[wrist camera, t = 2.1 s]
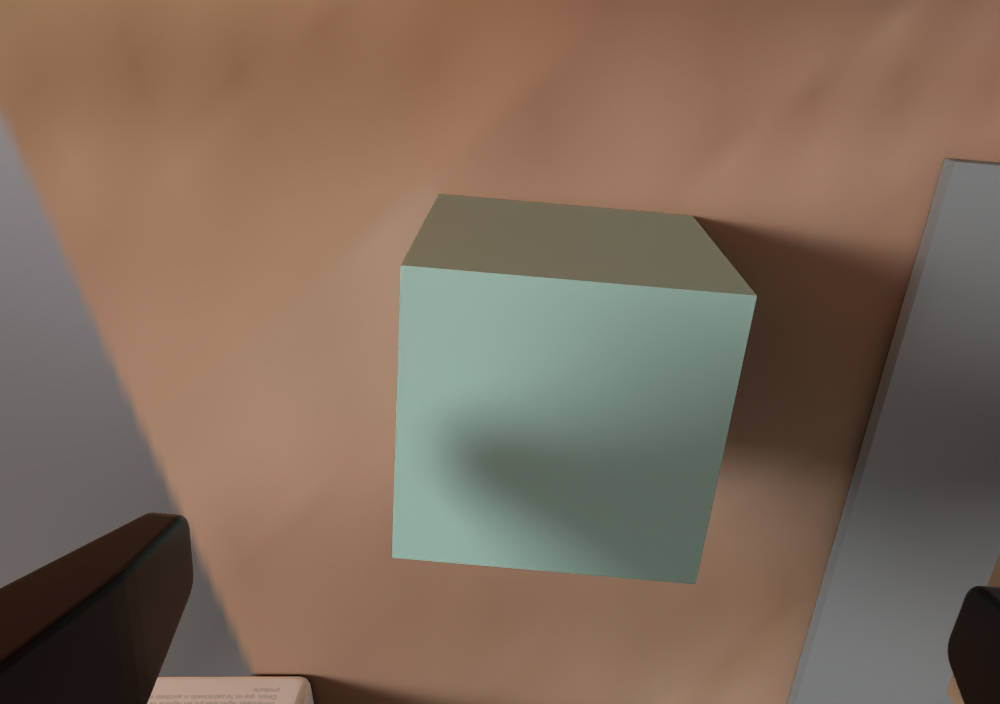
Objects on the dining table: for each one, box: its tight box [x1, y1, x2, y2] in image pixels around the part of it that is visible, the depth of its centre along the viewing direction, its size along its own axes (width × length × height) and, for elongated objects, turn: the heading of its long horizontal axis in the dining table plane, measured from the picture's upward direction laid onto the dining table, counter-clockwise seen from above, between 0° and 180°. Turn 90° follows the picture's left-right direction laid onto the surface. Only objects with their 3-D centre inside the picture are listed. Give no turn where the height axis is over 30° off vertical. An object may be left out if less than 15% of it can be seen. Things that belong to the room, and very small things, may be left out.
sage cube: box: [392, 194, 757, 584], centre depth 14 cm, size 5×5×5 cm
